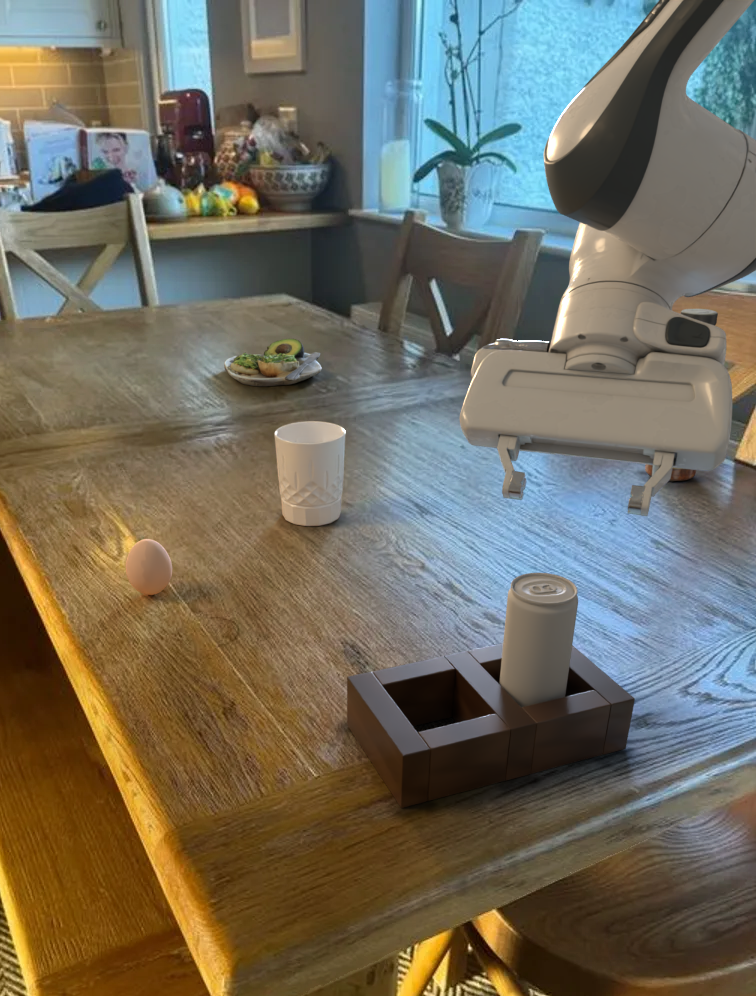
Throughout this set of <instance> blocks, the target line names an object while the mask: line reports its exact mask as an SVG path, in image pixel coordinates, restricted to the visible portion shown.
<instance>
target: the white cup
mask: <svg viewBox="0 0 756 996" xmlns="http://www.w3.org/2000/svg"><path fill="white" fill-rule="evenodd" d="M273 434H274V435H273V436H274V445H275V457H276V467H277V479H278V486H279V488H278V489H279V494H280V499H281V514H282V516H283V518H284V519H285V521H286V522H289V523H291V524H293V525H298V526H304V527H318V526H324V525H328V524H332V523H333V522H335V521H337V520H339V518H340V516H341V514H342V495H343V489H344V478H345V477H344V476H345V475H344V474H345V452H346V430H345V428H344V427H342V426H341V425H338V424H337V423H333V422H328V421H317V420H315V421H314V420H308V421H296V422H292V423H287V424H283V425H282V426H280V427H278V428H276V429H275V431H274V433H273Z"/></svg>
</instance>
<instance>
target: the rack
mask: <svg viewBox="0 0 756 996" xmlns="http://www.w3.org/2000/svg"><path fill="white" fill-rule="evenodd" d="M502 651H503V642H502V643H497V644H492V645H486V646H483V647H477V648H473V649H468V650H463V651H459V652H454V653H449V654H445V655H441V656H437V657H432V658H428V659H427V658H426V659H423V660H418V661H414V662H409V663H405V664H401V665H395V666H390V667H387V668H382V669H377V670H372V671H367V672H363V673H358V674H353V675H348V676H347V677H346V699H347V700H346V712H347V713H346V726H347V727H348V729H349V730H350V732H351V733H352V735H353V736H354V738H355V739H356V741H357V743H358V744H359V745H360V747H361V749H362V750H363V752H364V753H365V755H366V756H367V758H368V759H369V761H370V763H371V764H372V765H373V767H374V769H375V770H376V772H377V773H378V775H379V776H380V778H381V779H382V781H383V782H384V784H385V785H386V787H387V789H388V790H389V792H390V793H391V795H392V796H393V798H394V799H395V801H396V803H397V804H398V806H399V807H400V808H401V809H404V808H407V807H411V806H414V805H418V804H422V803H425V802H430V801H434V800H437V799H441V798H445V797H449V796H452V795H456V794H461V793H464V792H467V791H471V790H475V789H479V788H483V787H486V786H490V785H494V784H497V783H501V782H502V783H503V782H505V781H510V780H514V779H518V778H521V777H525V776H529V775H533V774H535V773H540V772H543V771H548V770H550V769H554V768H558V767H562V766H566V765H570V764H573V763H577V762H581V761H584V760H588V759H592V758H596V757H599V756H603V755H609V754H611V753H615V752H619V751H623V750H626V749H627V743H628V740H629V739H628V738H629V732H630V727H631V722H632V717H633V711H634V706H635V701H636V700H635V699H636V698H635V697H634V696H633V695H632V694H630V693H629V692H628V691H627V690H625V689H624V688H623V687H622V686H621V685H619V683H617V682H616V681H615V680H614V679H612V677H610V676H609V675H608V673H606V672H604V671H603V670H602V669H601V668H599V666H597V665H596V664H595V663H594V662H593V661H592V660H590V659H589V658H588V657H587V656H586V655H585V654H584V653H582V652H581V651H580V650H579V649H578V648H576V646H574V645H573V644H572V651H571V658H570V665H569V672H568V679H567V687H566V694H565V697H563V698H558V699H554V700H550V701H546V702H542V703H538V704H534V705H529V706H525V707H522V708H521V706H520V705H519V704H518V703H517V702H516V701H515V700H514V699H513V698H512V697H511V696H510V695H509V694H508V693H507V692H506V691H505V690H504V689H503V688H502V687H501V686H500V685H499V682H500V672H501V661H502ZM450 718H453V720H454V721H455V723H451V724H446V725H443V726H439V727H434V728H430V729H426V730H421V731H417V730H416V729H415V727H416V726H420V725H424V724H428V723H433V722H437V721H442V720H445V719H450Z"/></svg>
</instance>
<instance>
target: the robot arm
mask: <svg viewBox="0 0 756 996" xmlns="http://www.w3.org/2000/svg"><path fill="white" fill-rule="evenodd" d="M754 1H755V0H658V1H657V2H656V4H655V5H654V6H653V7H652V9H651V10H650V11H649V12H648V14H647V15H646V16H645V17H644V19H643V20H642V21H641V22H640V24H639V25H638V26H637V27H636V28H635V30H634V31H633V32H632V33H631V34H630V35H629V37H628V38H627V39H626V41H625V42H624V43H623V44H622V46H620V47H619V49H618V50H617V51H616V52H615V53H614V54H613V55H612V56H611V57H610V58H609V59H608V60H607V61H606V62H605V63H604V64H603V66H602V67H600V69H599V70H598V71H596V72H595V74H594V75H593V76H592V77H591V78H590V79H589V80H588V82H587V83H585V84H584V85H583V87H582V88H581V89H580V90H579V91H578V92H577V93H576V95H575V96H574V97H573V98H572V99H571V101H570V102H569V103H568V105H567V106H566V107H565V108H564V110H563V112H562V113H561V115H560V116H559V118H558V119H557V121H556V123H555V124H554V126H553V127H552V130H551V132H550V134H549V136H548V138H547V140H546V142H545V143H546V144H545V146H544V149H543V164H544V167H543V168H544V173H545V174H544V175H545V179H546V183H547V189H548V192H549V195H550V197H551V200H552V203H553V205H554V207H555V210H556V211H557V212H558V213H559V215H560V214H561V215H563V216H565V217H566V218H569V219H571V220H574V221H576V222H578V226H577V229H576V230H577V231H576V233H575V237H574V241H573V245H572V247H571V248H572V249H571V252H570V257H569V262H568V272H569V283H568V286H567V288H566V289H565V291H564V292H563V295H562V296H561V298H560V301H559V305H558V309H557V313H556V317H555V322H554V326H553V330H552V335H551V340H550V341H544V340H543V341H542V340H518V341H517V340H513V339H509V338H500V339H496V340H495V342H493V343H488V344H487V345H484V346H482V347H481V348H479V349H478V350H477V351H476V353H475V355H474V358H473V361H472V366H471V369H470V379H471V381H470V385H469V387H468V389H467V392H466V395H465V397H464V400H463V403H462V406H461V408H460V409H461V410H460V413H459V425H460V429H461V432H462V434H463V436H464V437H465V439H466V440H467V442H468V443H469V444H470V445H471V446H473V447H480V448H481V447H482V448H490V449H491V448H492V449H497V454H498V458H499V462H500V464H501V466H502V469H503V473H504V479H503V483H502V488H501V494H502V497H503V499H510V500H517V501H522V500H523V499H524V495H525V494H524V491H525V490H526V486H527V478H526V472H524V471H517V470H515V467H514V465H513V462H517V461H518V458H519V454H520V452H527V453H538V454H546V455H555V456H556V455H557V456H564V457H565V456H566V457H574V458H582V459H583V458H584V459H591V460H592V459H593V460H600V461H601V460H602V461H612V462H619V463H629V464H637V465H653V468H652V476H650V478H649V479H648V480H647V481H646V482H645V483H644V484H643V485H634V484H632V485H631V489H630V495H629V499H628V504H627V513H626V514H628V515H635V516H640V517H648V516H649V512H650V506H651V502H652V498H653V497H655V496H656V495H657V494H658V493H659V492H660V490H661V489H663V488H664V487H665V486H666V484H668V482H670V481H669V480H670V479H671V473H672V468H683V469H692V470H696V471H702V472H712V471H714V470H715V469H717V468H718V467H719V466H721V465H722V464H723V463H724V462H725V460H726V457H727V455H728V450H729V444H730V439H731V438H730V437H731V433H732V432H731V431H732V420H733V384H732V379H731V376H730V373H729V371H728V369H727V368H726V366H725V363H726V362H725V361H726V357H727V333H726V331H725V330H724V329H723V328H721V327H719V326H717V325H715V326H714V325H711V324H708V323H705V322H702V321H699V320H696V319H693V318H690V317H688V316H685V315H682V314H681V313H679V312H677V311H674V310H673V306H674V304H675V303H676V301H678V300H679V299H680V298H681V297H684V298H693V297H696V296H699V295H704V294H705V293H708V292H711V291H714V290H717V289H719V288H721V287H724V286H726V285H728V284H731V283H734V282H737V281H738V280H740V279H743V278H745V277H747V276H749V275H750V274H752V273H754V272H755V271H756V139H755V138H753V137H752V136H750V135H749V134H747V133H746V132H744V131H742V130H741V129H739V128H735V127H734V126H732V125H731V124H729V123H728V122H726V121H725V120H723V119H722V118H721V117H719V116H717V115H716V114H714V113H713V112H711V111H709V110H708V109H707V108H705V107H704V106H702V105H701V104H699V103H697V102H696V101H695V100H694V99H692V98H690V96H688V94H687V86H688V83H689V80H690V78H691V77H692V76H693V74H694V72H695V71H696V70H698V68H699V67H700V65H701V64H702V63H703V62H704V61H705V59H706V58H707V57H708V56H709V55H710V54H711V52H713V50H714V49H715V48H716V46H717V45H718V44H719V43H720V42H721V41H722V39H723V38H724V37H725V36H726V35H727V33H728V32H730V30H731V29H732V27H733V26H734V25H735V24H736V23H737V22H738V21H739V19H740V18H741V17H742V15H743V14H744V13H745V12H746V11H747V10H748V9H749V7H750V6H751V5H752V4H753V2H754Z"/></svg>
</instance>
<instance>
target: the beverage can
mask: <svg viewBox="0 0 756 996" xmlns="http://www.w3.org/2000/svg"><path fill="white" fill-rule="evenodd" d="M578 593H579V591H578V587H577V585H576V584H575V583H574V582H573V581H572V580H571V579H568V578H566V577H565V576H561V575H558V574H554V573H548V572H528V573H524V574H521V575H518V576H516V577H514V578H513V580H512V581H511V583H510V588H509V589H508V592H507V598H506V599H507V600H506V611H505V620H504V621H505V622H504V631H503V642H502V643H503V651H502V661H501V672H500V682H499V685H500V686H501V687H502V688H503V689H504V690H505V691H506V692H507V693H508V694H509V695H510V696H511V697H512V698H513V699H514V700H515V701H516V702H517V703H518V704H519V705H520V706H521V708H522V707H525V706H529V705H534V704H538V703H542V702H546V701H550V700H554V699H558V698H563V697H565V694H566V687H567V679H568V672H569V665H570V658H571V651H572V645H573V643H574V637H575V636H574V635H575V628H576V621H577V614H578V607H579V596H578Z"/></svg>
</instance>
